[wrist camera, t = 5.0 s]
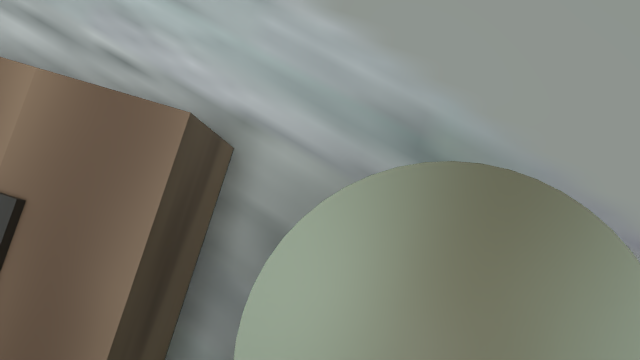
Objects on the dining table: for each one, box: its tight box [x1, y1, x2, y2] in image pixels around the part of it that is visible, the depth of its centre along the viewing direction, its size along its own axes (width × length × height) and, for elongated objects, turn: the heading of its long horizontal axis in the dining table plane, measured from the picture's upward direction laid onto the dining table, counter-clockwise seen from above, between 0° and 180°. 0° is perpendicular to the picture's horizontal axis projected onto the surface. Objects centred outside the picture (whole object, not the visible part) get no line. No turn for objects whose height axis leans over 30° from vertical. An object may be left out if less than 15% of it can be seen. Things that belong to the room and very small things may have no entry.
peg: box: [234, 161, 640, 360], centre depth 13 cm, size 6×6×10 cm
